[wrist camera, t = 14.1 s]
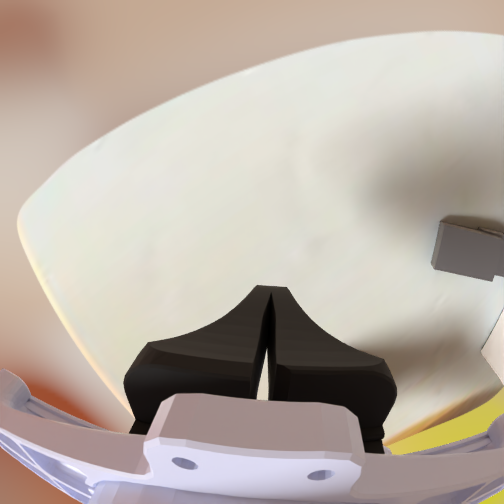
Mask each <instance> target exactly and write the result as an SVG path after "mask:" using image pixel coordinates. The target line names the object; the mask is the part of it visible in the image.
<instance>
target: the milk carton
mask: <svg viewBox="0 0 504 504" xmlns="http://www.w3.org/2000/svg"><path fill="white" fill-rule="evenodd" d="M481 354H482V355H483V357H484V358H485V359H486V361H487V362H488V363H489V365H490V366H491V368H492V369H493V370H494V372H495V373H496V374H497V376H498V377H499V379H500V380H501V382H502V383H503V384H504V309H503V311H502V313H501V315H500V317H499V319H498V321H497V323H496V325H495V327H494V329H493V331H492V333H491V335H490V336H489V338H488V340H487V342H486V343H485V345H484V347H483V349H482V350H481Z"/></svg>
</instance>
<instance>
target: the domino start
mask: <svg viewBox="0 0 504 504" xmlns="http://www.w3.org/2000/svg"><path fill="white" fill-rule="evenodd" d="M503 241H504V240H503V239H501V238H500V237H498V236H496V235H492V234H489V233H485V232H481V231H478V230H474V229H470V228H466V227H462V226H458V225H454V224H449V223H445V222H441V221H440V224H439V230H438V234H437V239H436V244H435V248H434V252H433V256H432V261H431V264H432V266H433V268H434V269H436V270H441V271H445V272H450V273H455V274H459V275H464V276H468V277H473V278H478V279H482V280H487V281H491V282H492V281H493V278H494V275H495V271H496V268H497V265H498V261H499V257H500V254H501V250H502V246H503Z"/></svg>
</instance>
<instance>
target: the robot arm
mask: <svg viewBox="0 0 504 504" xmlns="http://www.w3.org/2000/svg"><path fill="white" fill-rule="evenodd" d="M266 350H267V355H268V383H269V393H268V401H267V400H256V399H257V392H258V386H259V382H260V377H261V373H262V368H263V364H264V359H265V355H266ZM123 384H124V389H125V393H126V396H127V399H128V401H129V404H130V406H131V409H132V412H133V414H134V417H135V419H136V420H135V422H134V424H133V426H132V428H131V430H130V432H129V434H128V433H119V432H112V431H109V430H106V429H104V428H101V427H98V426H96V425H93V424H90V423H88V422H86V421H83V420H81V419H79V418H76V417H74V416H72V415H69V414H67V413H65V412H63V411H61V410H59V409H57V408H55V407H52V406H50V405H48V404H46V403H45V402H43V401H41V400H39V399H37V398H35V397H33V396H31V393H30V391H29V389H28V387H27V386H26V384H25V383H24V381H22V379H21V378H19V377H18V376H16V375H14V374H13V373H11V372H9V371H8V370H6V369H2V370H1V371H0V446H1V447H2V448H3V449H4V450H5V451H7V452H8V453H9V454H10V455H12V456H13V457H14V458H15V459H17V460H18V461H19V462H21V463H22V464H23V465H25V466H26V467H27V468H29V469H30V470H31V471H33V472H34V473H36V474H37V475H38V476H40V477H42V478H43V479H44V480H46V481H47V482H49V483H50V484H52V485H53V486H55V487H56V488H58V489H60V490H61V491H63V492H64V493H66V494H68V495H69V496H71V497H73V498H74V499H76V500H78V501H80V502H81V503H83V504H478V503H480V502H482V501H484V500H485V499H487V498H489V497H491V496H493V495H495V494H496V493H498V492H500V491H501V490H503V489H504V414H502V415H500V416H499V417H497V418H496V419H495V420H494V421H493V423H492V424H491V425H490V427H489V428H488V430H487V431H486V432H483V433H480V434H478V435H475V436H472V437H469V438H466V439H463V440H460V441H456V442H453V443H449V444H446V445H442V446H439V447H435V448H431V449H427V450H423V451H418V452H413V453H409V454H403V455H392V453H391V451H390V449H389V448H387V447H385V446H383V444H382V440H381V439H383V438H384V435H385V433H384V429H383V423H384V421H385V420H386V418H387V416H388V414H389V412H390V410H391V409H392V407H393V405H394V403H395V400H396V397H397V387H396V384H395V382H394V379H393V377H392V374H391V372H390V370H389V368H388V366H387V364H386V363H385V361H384V359H382V358H379V357H376V356H373V355H370V354H367V353H364V352H361V351H359V350H357V349H355V348H353V347H350V346H348V345H346V344H345V343H343V342H341V341H339V340H338V339H336V338H334V337H333V336H331V335H330V334H328V333H327V332H326V331H324V330H323V329H322V328H321V327H319V326H318V325H317V324H316V323H315V322H314V321H312V320H311V319H310V317H309V316H308V315H307V314H306V313H305V312H304V311H303V309H302V308H301V307H300V306H299V304H298V303H297V302H296V300H295V299H294V297H293V296H292V294H291V292H290V291H289V289H288V288H287V287H277V286H262V285H257V286H255V287H254V288H253V290H252V291H251V292H250V293H249V294H248V295H247V296H246V298H245V299H243V300H242V301H241V302H240V303H239V304H238V305H237V306H236V307H235V308H234V309H232V310H231V311H230V312H229V313H228V314H226V315H225V316H223V317H222V318H220V319H218V320H217V321H215V322H213V323H211V324H209V325H207V326H205V327H203V328H200V329H198V330H196V331H193V332H190V333H188V334H185V335H181V336H178V337H174V338H170V339H164V340H159V341H153V342H148V343H147V344H146V346H145V347H144V348H143V349H142V350H141V352H140V353H139V354H138V356H137V357H136V359H135V360H134V362H133V364H132V365H131V367H130V368H129V370H128V371H127V373H126V375H125V377H124V382H123Z"/></svg>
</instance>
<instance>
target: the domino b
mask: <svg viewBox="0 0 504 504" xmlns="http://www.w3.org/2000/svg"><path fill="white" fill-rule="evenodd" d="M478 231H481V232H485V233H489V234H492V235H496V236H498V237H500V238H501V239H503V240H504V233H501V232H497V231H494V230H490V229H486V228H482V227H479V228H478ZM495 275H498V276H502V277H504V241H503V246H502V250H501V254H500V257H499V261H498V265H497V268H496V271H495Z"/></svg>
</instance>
